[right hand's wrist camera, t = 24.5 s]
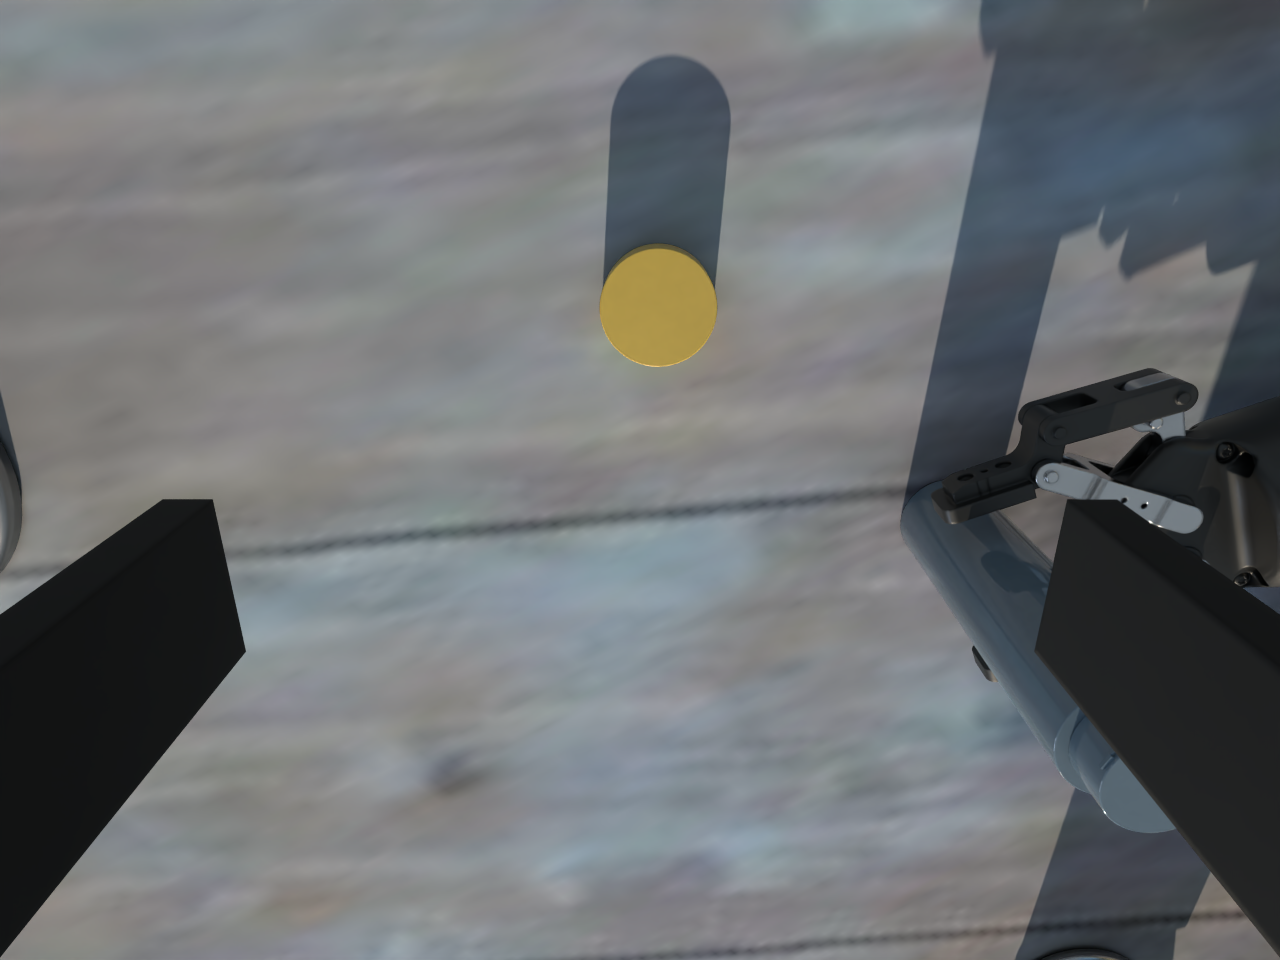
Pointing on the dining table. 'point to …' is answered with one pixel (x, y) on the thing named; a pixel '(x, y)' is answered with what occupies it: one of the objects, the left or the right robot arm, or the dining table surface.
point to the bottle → (1021, 646)
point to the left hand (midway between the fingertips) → (959, 590)
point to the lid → (658, 305)
